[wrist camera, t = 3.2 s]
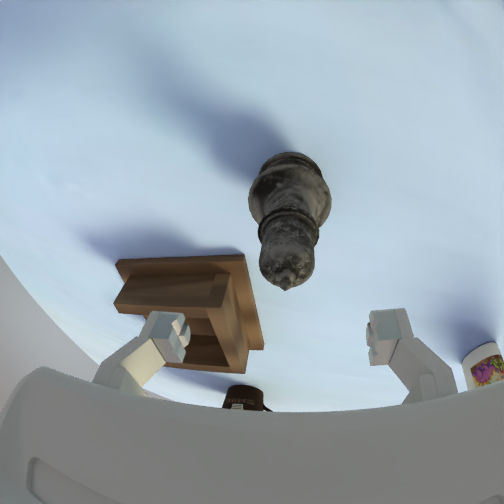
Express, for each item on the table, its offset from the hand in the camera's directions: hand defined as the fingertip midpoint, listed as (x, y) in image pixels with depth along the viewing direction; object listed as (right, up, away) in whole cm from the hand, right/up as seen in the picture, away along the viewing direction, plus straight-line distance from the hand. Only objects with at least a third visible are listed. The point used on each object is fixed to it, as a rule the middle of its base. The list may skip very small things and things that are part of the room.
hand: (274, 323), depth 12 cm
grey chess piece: (+2, +9, +11) cm, 14 cm away
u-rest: (-8, -4, +22) cm, 23 cm away
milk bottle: (+38, -15, +23) cm, 47 cm away
